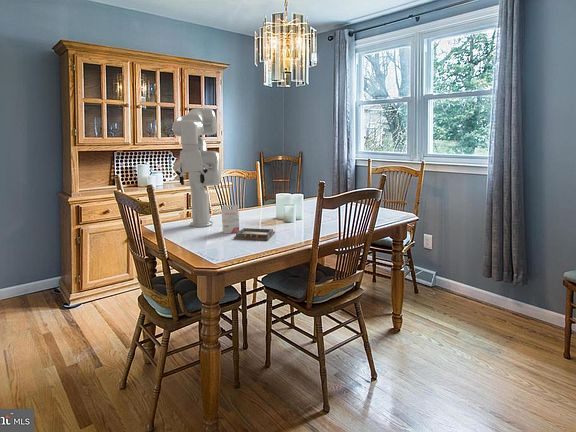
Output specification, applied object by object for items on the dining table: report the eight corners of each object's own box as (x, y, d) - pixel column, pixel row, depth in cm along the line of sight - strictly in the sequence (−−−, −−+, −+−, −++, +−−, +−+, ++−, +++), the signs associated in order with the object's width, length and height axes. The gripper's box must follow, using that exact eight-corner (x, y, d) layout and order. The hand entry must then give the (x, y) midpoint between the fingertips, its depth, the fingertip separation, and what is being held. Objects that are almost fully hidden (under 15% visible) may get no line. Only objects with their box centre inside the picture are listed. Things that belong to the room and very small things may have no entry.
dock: (243, 231, 224) (243, 226, 223) (274, 233, 221) (274, 227, 220) (234, 239, 210) (233, 233, 209) (267, 240, 206) (267, 234, 206)
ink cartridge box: (238, 230, 228) (237, 203, 225) (239, 232, 223) (238, 204, 220) (222, 231, 226) (221, 204, 223) (222, 233, 221) (221, 205, 218)
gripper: (205, 146, 208) (207, 181, 212) (169, 148, 199) (172, 184, 203) (210, 147, 201) (212, 183, 205) (174, 149, 193) (176, 186, 197)
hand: (192, 183), depth 204 cm, fingers open, 9 cm apart
